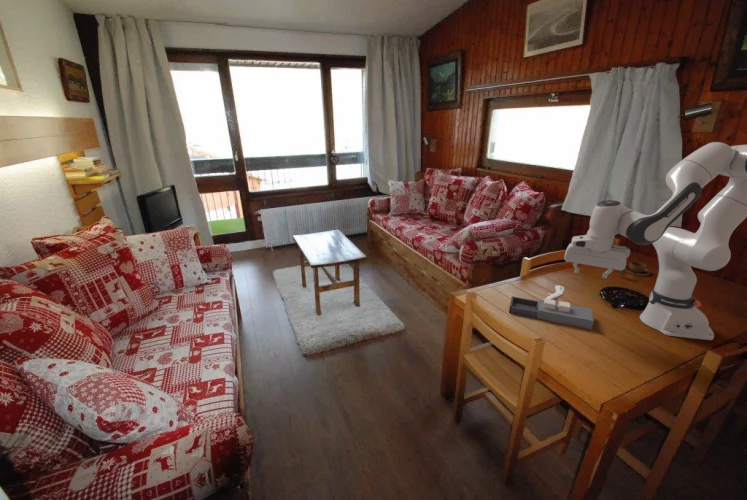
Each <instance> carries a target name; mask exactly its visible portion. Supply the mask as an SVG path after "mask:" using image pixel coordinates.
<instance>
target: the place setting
mask: <svg viewBox="0 0 747 500" xmlns="http://www.w3.org/2000/svg"><path fill="white" fill-rule="evenodd" d="M628 268H629V269H630V270H631V271H630V270H627V269H628ZM644 272H646V273H644ZM619 273H620V274H619V278H620V279H622V278H623V274H625V273H628V274H630V275H634V276H639V277H646V276H649V275H650V274H651V270H650V269H649V268H647V264H645V263H643V262H639V261H631V262H630V263H629V264H626V267H625V269H624V270H619Z"/></svg>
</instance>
